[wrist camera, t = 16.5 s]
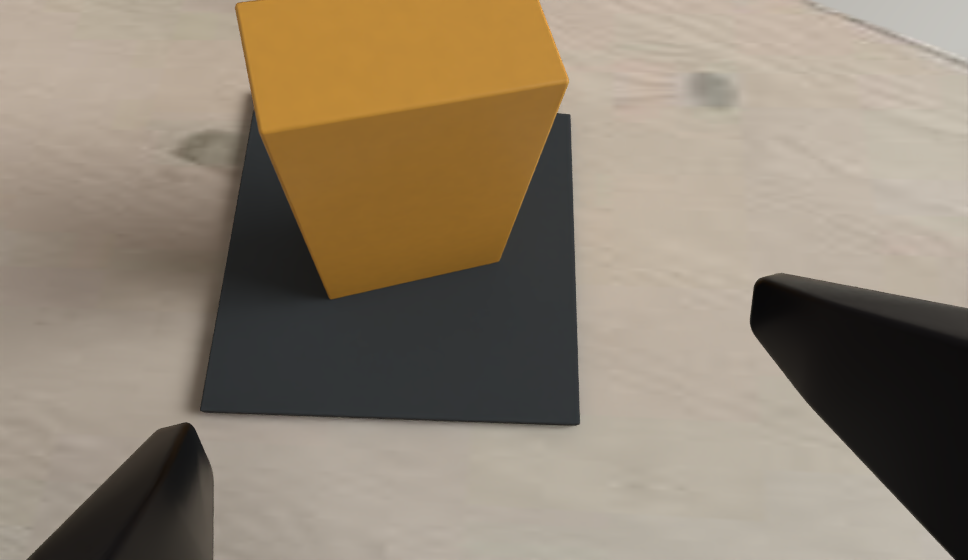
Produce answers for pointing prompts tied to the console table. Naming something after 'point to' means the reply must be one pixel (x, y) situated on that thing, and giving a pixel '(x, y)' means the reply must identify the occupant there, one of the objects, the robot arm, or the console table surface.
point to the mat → (400, 319)
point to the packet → (401, 127)
